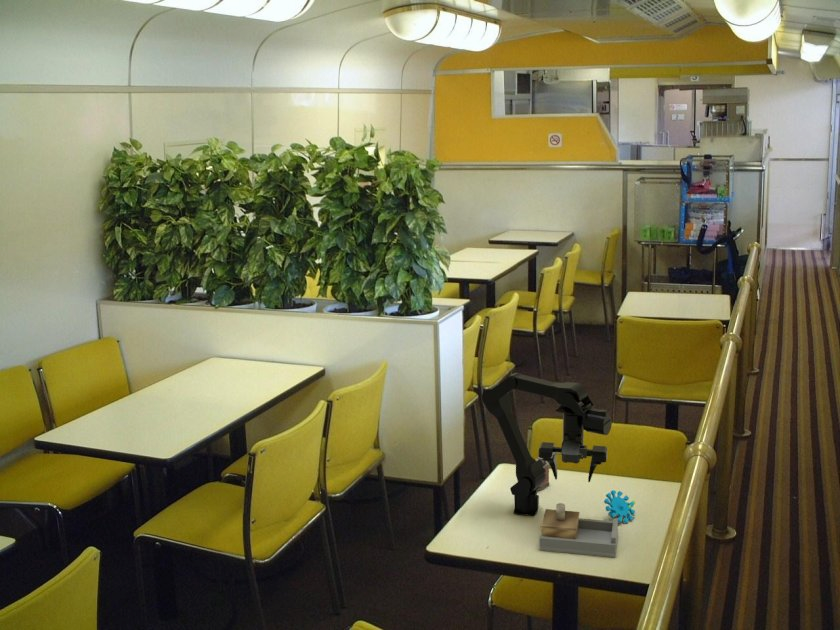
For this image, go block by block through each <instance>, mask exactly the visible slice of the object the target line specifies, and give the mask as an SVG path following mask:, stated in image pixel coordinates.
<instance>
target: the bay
mask: <svg viewBox="0 0 840 630" xmlns="http://www.w3.org/2000/svg"><path fill="white" fill-rule="evenodd" d="M617 518H618V517H617ZM617 518H615V517H614V518H612V519H613V520H606V519H605V520H602V519H592V518H580V517H579V528H578V534H577V539H567V538H556V537H545V536H542V535H540V536H539V551H547V552H557V551H558V552H557V553H568V554H577V555H588V556H589V555H590V556H599V557H606V558H607V557H609V558H616V554H617V543H618V534H619V531H618V530H619V522H618V519H617Z"/></svg>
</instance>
